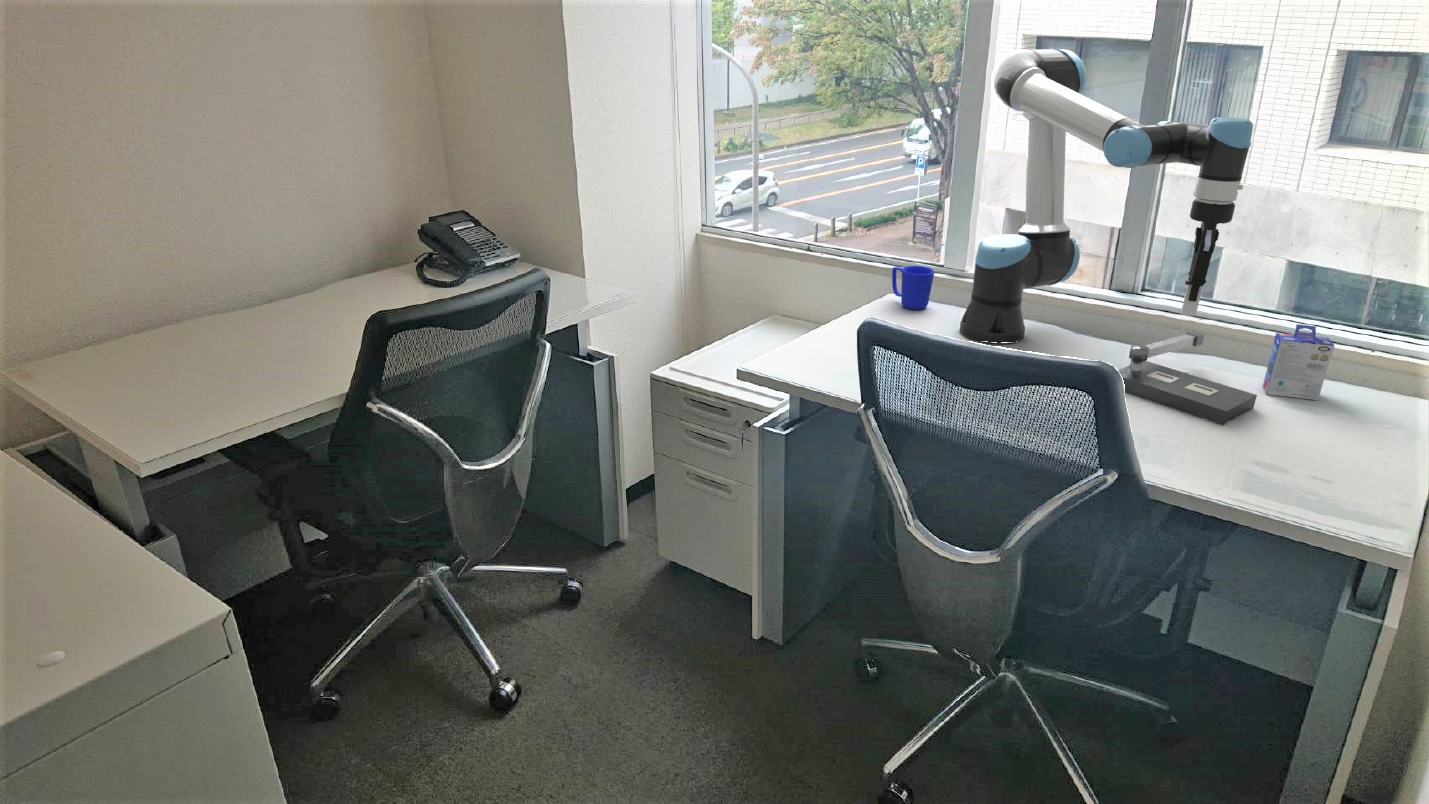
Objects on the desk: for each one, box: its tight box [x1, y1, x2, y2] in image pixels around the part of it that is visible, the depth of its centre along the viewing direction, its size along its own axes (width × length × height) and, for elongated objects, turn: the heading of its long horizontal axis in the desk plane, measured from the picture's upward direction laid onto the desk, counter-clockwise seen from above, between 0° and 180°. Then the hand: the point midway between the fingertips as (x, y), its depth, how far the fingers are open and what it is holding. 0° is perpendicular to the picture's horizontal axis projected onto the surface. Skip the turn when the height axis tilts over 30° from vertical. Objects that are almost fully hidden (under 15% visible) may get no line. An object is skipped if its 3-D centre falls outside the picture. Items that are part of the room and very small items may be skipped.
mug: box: [891, 265, 935, 311], centre depth 242 cm, size 8×12×10 cm
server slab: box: [1118, 359, 1258, 426], centre depth 189 cm, size 24×13×5 cm, turn 38°
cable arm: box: [1128, 330, 1205, 361], centre depth 199 cm, size 22×4×3 cm, turn 121°
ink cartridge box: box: [1262, 323, 1335, 401], centre depth 190 cm, size 10×6×14 cm, turn 72°
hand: (1188, 314), depth 191 cm, fingers closed
